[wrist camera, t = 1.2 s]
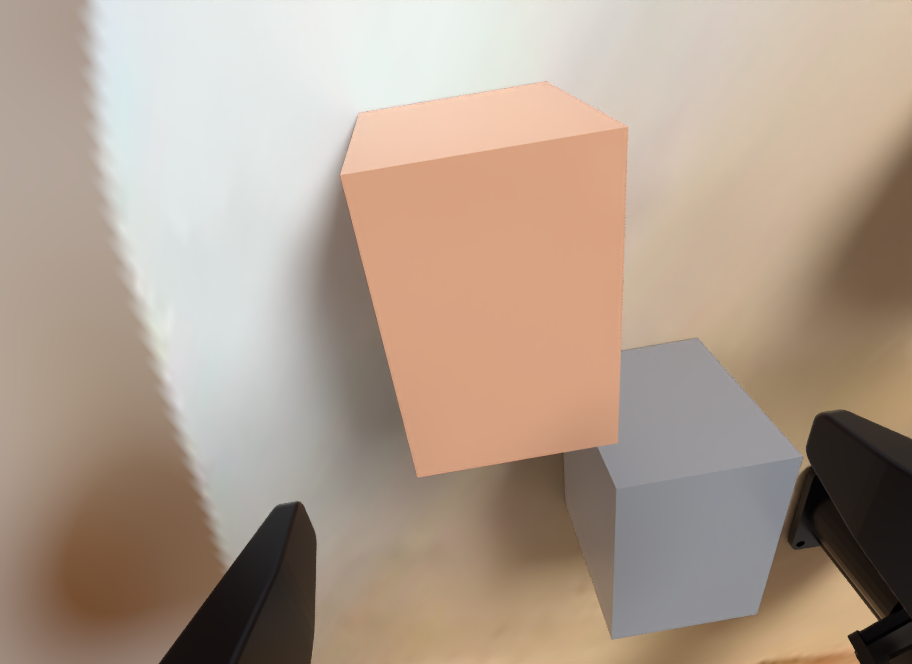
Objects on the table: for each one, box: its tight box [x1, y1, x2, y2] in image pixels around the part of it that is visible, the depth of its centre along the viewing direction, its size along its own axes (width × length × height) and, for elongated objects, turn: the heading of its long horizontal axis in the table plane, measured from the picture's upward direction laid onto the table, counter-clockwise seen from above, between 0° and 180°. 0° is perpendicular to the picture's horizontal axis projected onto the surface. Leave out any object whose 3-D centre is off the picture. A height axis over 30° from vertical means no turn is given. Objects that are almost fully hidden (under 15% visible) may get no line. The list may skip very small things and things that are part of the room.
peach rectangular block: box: [340, 82, 628, 478], centre depth 16 cm, size 9×6×7 cm, turn 8°
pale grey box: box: [563, 338, 803, 640], centre depth 22 cm, size 9×6×7 cm, turn 8°
